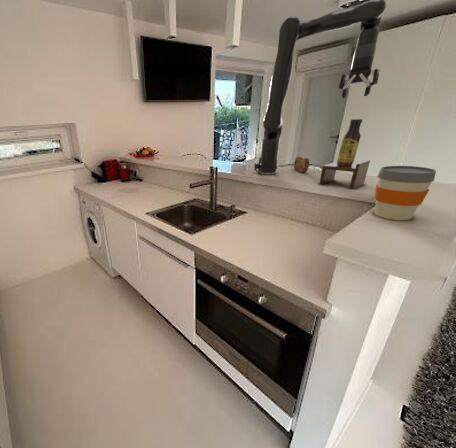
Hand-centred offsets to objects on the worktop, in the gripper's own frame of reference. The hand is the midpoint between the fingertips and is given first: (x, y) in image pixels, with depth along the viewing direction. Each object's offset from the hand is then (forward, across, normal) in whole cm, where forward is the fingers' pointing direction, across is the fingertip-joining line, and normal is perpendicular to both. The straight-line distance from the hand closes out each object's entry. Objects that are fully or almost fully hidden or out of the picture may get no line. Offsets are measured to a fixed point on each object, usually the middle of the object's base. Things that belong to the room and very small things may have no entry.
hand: (354, 97), depth 117 cm
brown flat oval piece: (+38, +21, -2) cm, 44 cm away
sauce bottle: (+29, -8, +16) cm, 34 cm away
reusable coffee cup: (+38, -35, +48) cm, 71 cm away
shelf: (+38, -8, +16) cm, 42 cm away
